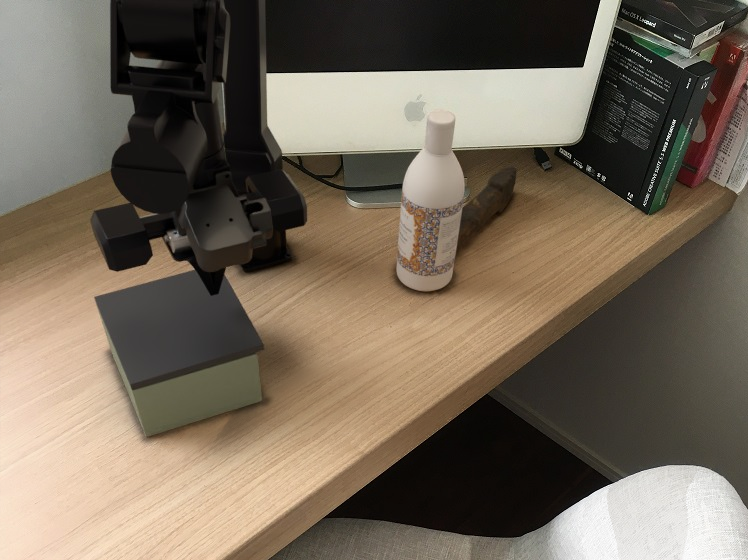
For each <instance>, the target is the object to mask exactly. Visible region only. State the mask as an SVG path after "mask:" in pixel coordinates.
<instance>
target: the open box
mask: <svg viewBox="0 0 748 560" xmlns="http://www.w3.org/2000/svg"><path fill="white" fill-rule="evenodd" d="M95 304H96V303H95ZM96 308H97V312H98V314H99V317H100V320H101V323H102V326H103V330H104V333H105V336H106V339H107V342H108V345H109V348H110V353H111V355H112V357H113V360H114V361H115V364H116V367H117V369H118V371H119V374H120V377H121V379H122V381H123V384H124V386H125V389H126V392H127V394H128V396H129V399H130V401H131V404H132V406H133V408H134V411H135V413H136V416H137V418H138V420H139V423H140V425H141V428H142V431H143V434H144V436H145V438H148V437H151V436H155V435H159V434H162V433H165V432H168V431H170V430H173V429H177V428H181V427H183V426H187V425H190V424H193V423H196V422H200V421H202V420H205V419H209V418H212V417H215V416H219V415H222V414H225V413H228V412H232V411H234V410H235V411H236V410H237V409H238V410H239V409H241V408H244V407H247V406H251V405H254V404H257V403H260V402H262V401H263V393H262V385H261V377H260V376H261V375H260V368H259V358H258V352H255V353H252V354H249V355H246V356H242V357H239V358H236V359H233V360H229V361H226V362H223V363H220V364H216V365H213V366H210V367H206V368H203V369H200V370H197V371H193V372H190V373H187V374H184V375H180V376H177V377H174V378H171V379H167V380H164V381H161V382H158V383H154V384H151V385H148V386H144V387H141V388H138V389H135V390H132V389H131V387H130V384H129V382H128V379H127V377H126V375H125V372H124V370H123V367H122V365H121V362H120V360H119V358H118V355H117V353H116V350H115V348H114V345H113V343H112V341H111V338H110V336H109V333H108V331H107V328H106V326H105V324H104V321H103V319H102V316H101V314H100V311H99V309H98V307H97V304H96Z"/></svg>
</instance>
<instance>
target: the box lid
mask: <svg viewBox="0 0 748 560" xmlns="http://www.w3.org/2000/svg"><path fill="white" fill-rule="evenodd" d="M93 298H94V302H95V304H97V305H96V308H97V307H98V308H97V310H98V309H99V311H100V314H101V316H102V319H103V321H104V324H105V326H106V328H107V331H108V333H109V336H110V338H111V341H112V343H113V345H114V348H115V350H116V353H117V355H118V358H119V360H120V362H121V365H122V367H123V370H124V372H125V375H126V377H127V379H128V382H129V384H130V387H131V389H132V390H135V389H138V388H141V387H144V386H148V385H151V384H154V383H158V382H161V381H164V380H167V379H171V378H174V377H177V376H180V375H184V374H187V373H190V372H193V371H197V370H200V369H203V368H206V367H210V366H213V365H216V364H220V363H223V362H226V361H229V360H233V359H236V358H239V357H242V356H246V355H249V354H252V353H255V352H256V353H259V352H262V351H265V344H264V341H263V340H262V337H261V335H260V334H259V333H258V331H257V329H256V327H255V325H254V324H253V322H252V320H251V319H250V317H249V314H248V313H247V312H246V310H245V308H244V306H243V305H242V303H241V301H240V299H239V297H238V295H237V294H236V292H235V291H234V289H233V287H232V285H231V283H230V281H229V280H228V278H227V276H226V273H225V274H224V277H223V281H222V284H221V288H220V291H219V294H217V295H213V296H210V294H209V292H208V290H207V289H206V287H205V285H204V283H203V282H202V280H201V278H200V276H199V275H198V273H197V272H196V270H195V269H192V270H189V271H188V270H187V271H185V272H180V273H176V274H173V275H170V276H166V277H162V278H159V279H155V280H151V281H147V282H143V283H140V284H136V285H133V286H129V287H125V288H121V289H117V290H114V291H110V292H107V293H103V294H98V295H95V296H93ZM99 311H98V312H99ZM100 314H99V315H100Z"/></svg>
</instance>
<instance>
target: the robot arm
mask: <svg viewBox="0 0 748 560" xmlns="http://www.w3.org/2000/svg"><path fill="white" fill-rule="evenodd" d="M266 21H267V20H266V0H110V1H109V27H110V28H109V43H110V44H109V45H110V46H109V47H110V48H109V52H110V53H109V56H110V57H109V60H110V65H109V67H110V68H109V69H110V72H109V73H110V74H109V75H110V76H109V77H110V78H109V79H110V87H109V88H110V92H111V94H112V95H119V96H120V95H122V96H129V97H130V96H131V98H132V103H133V108H134V110H133V111H134V113H133V114H132V115H131V117H130V118H129V120H128V122H127V126H126V128H127V129H126V131H125V133H124V135H123V136H122V138H121V140H120V142H119V144H118V145H117V147H116V149H115V151H114V153H113V156H112V158H111V166H110V175H111V179H112V181H113V183H114V186H115V187H116V189H117V191H118V192H119V193H120V195H122V197H123V198H124V199H125V200H126V201H127V203H122V204H118V205H113V206H108V207H104V208H99V209H96V210H95V209H94V210H93V212H92V214H91V216H90V219H89V221H90V225H91V229H92V233H93V235H94V238H95V241H96V243H97V245H98V247H99V250H100V252H101V254H102V256H103V259H104V261H105V263H106V266H107V268H108V270H109V271H113V272H123V271H127V270H130V269H135V268H138V267H143V266H146V265H147V264H148V263H149V261H150V260H151V259H152V257H153V256H154V253H153V249H152V243H151V241H153V240H155V239H160V238H161V239H162V241H163V243H164V245H165V246H166V249H167V250H168V252H169V254H170V256H171V258H172V259H173V260H174V261H175V262H178V263H180V262H181V263H182V262H188V263H189V264H190V265H191V267H192V268H193V270H196V272H197V273H198V275H199V276H200V278H201V280H202V282H203V283H204V285H205V287H206V289H207V290H208V292H209V294H210V296H213V295H217V294H219V291H220V288H221V284H222V281H223V277H224V274H225V275H226V270H227V268H229V267H232V266H239V267H240V270H242V272H245V273H247V272H248V273H249V272H251V271H255V270H259V269H263V268H267V267H271V266H274V265H278V264H281V263H286V262H290V261H292V260H293V254H292V253H291V251H290V249H289V248H288V245H287V231H289V230H292V229H296V228H300V227H305V226H306V224H307V223H308V205H307V201H306V199H305V196H304V194H303V193H302V192H301V190H300V188H299V187H298V186H297V185H296V183H295V182H294V180H293V179H292V177H291V176H290V175H289V173H288V172H287V170H284V169H283V168H284V165H283V150H282V148H281V146H280V144H279V143H278V141H277V139H276V138H275V136H274V134H273V132H272V131H271V128H270V127H269V126H268V87H267V82H268V81H267V29H266V28H267V27H266V26H267V25H266V23H267V22H266ZM131 54H132V56H133V57H134V58H137V59H143V60H152V61H153V60H154V61H159V62H158V63H157V64H156V66H155V67H152V66H140V65H130V62H131ZM221 84H223V102H224V104H223V105H224V125H225V127H224V128H225V129H224V131H223V122H222V116H221V115H222V114H221V105H220V99H219V98H220V97H219V92H220V87H221ZM135 207H136V208H138V209H139V210H142V211H144V212H147V213H151V214H146V215H142V216H140V215H139V213H138V212H137V209H136V208H135Z"/></svg>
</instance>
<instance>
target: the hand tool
mask: <svg viewBox="0 0 748 560" xmlns="http://www.w3.org/2000/svg"><path fill="white" fill-rule="evenodd" d="M517 170H518V169H517V168H516V167H515V166H513V165H512V166H510V165H509V166H506V165H505V167H503V168H502V169H500V170H498V171H497V172H495V173H493V174H492V175H491V176H490V177H489V178H488V180H487V185H486V186H485V187H483V188H482V190H481V191H480V192H479V193H478V194H477V195H476V196H474V197H472V199H470V200H469V201H468V202H467V203H466V204H465V205H463V207H462V214H461V221H460V227H459V234H458V241H457V248H456V255H457V254H458V251H460V249H461V247H462V246H463V244H465V243H466V242H467V241H469V239H470V238H471V237H472V236H473V235H474V234H475V233H476V232H478V231H479V229H481V227H482V226H484V225H485V223H487V221H489V220H490V219H491V218H492V217H493V216H494V215H495V214H500V213H502V212H503V211H504V209H506V206H507V205H508V204H509V201H510V199H511V197H512V195H513V193H514V189H515V185H516V181H517Z"/></svg>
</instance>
